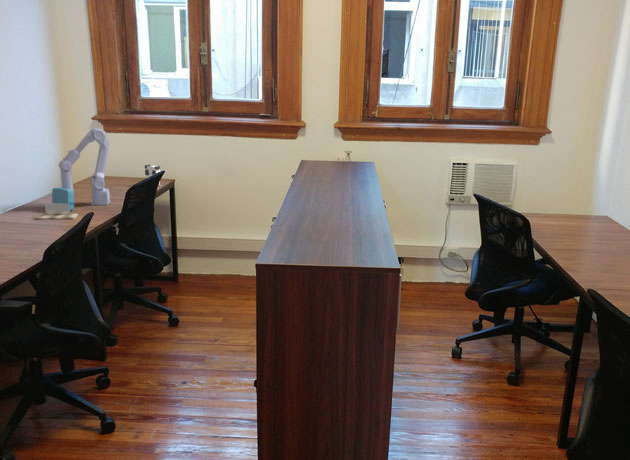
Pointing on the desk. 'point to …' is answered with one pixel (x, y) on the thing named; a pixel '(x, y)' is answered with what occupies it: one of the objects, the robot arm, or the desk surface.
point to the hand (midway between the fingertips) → (69, 204)
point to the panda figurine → (151, 170)
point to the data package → (63, 196)
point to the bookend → (56, 212)
